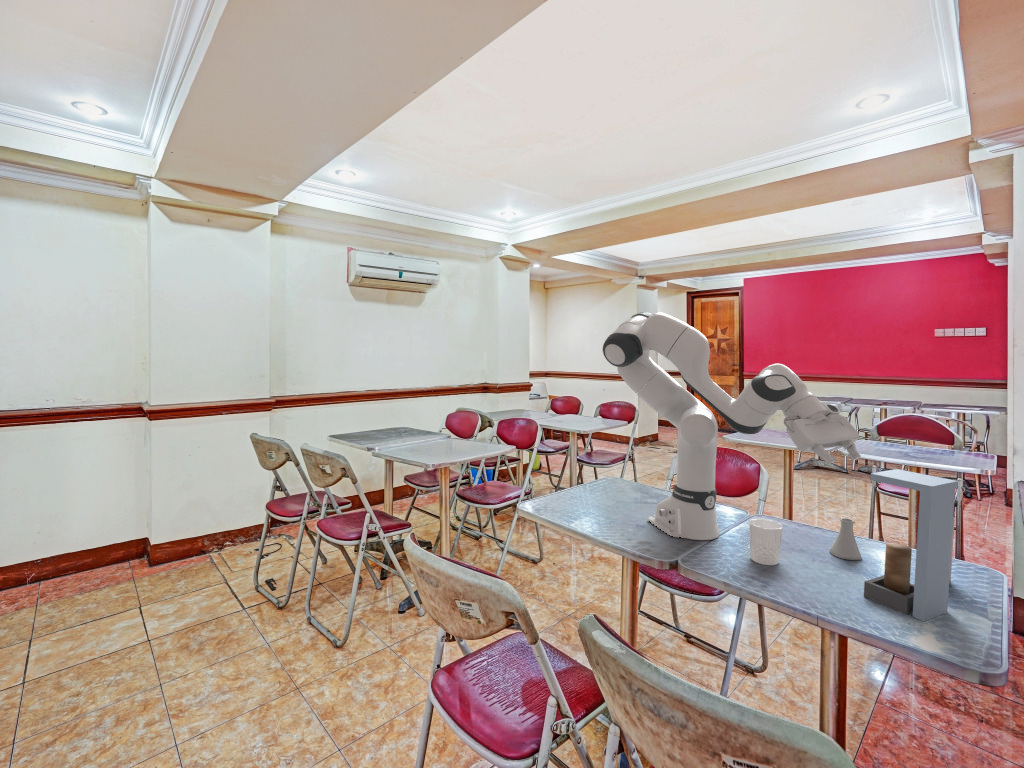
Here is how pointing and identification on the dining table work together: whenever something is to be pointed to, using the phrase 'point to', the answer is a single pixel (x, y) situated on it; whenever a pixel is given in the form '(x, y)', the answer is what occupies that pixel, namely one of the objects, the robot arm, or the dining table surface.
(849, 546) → the flask
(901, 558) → the peg
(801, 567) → the dining table surface
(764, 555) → the white cup
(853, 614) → the dining table surface
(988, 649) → the dining table surface
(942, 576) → the awning
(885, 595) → the socket
